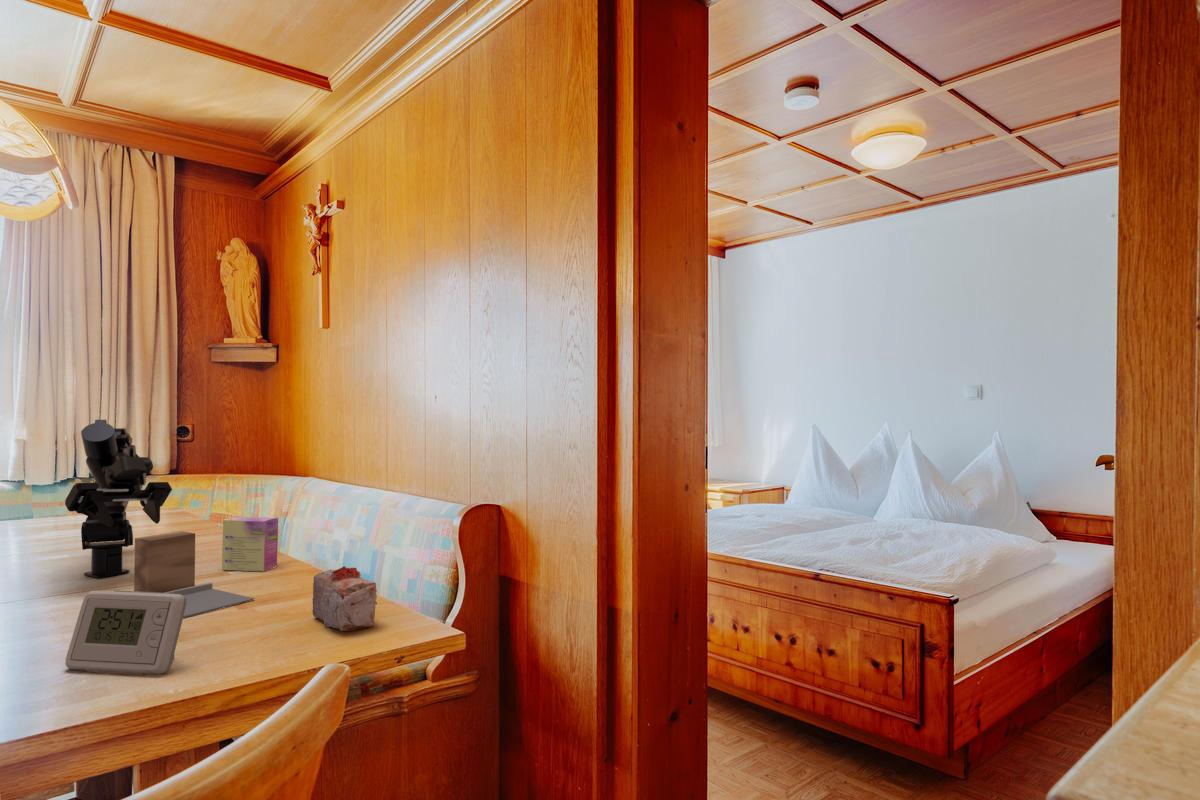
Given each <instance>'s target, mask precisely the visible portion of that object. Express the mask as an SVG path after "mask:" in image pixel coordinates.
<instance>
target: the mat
mask: <svg viewBox="0 0 1200 800" xmlns="http://www.w3.org/2000/svg"><path fill="white" fill-rule="evenodd" d="M164 594H180V595H183V596H185V597H186V599H187V603H186V608H185V612H184V616H183V618H184V619H187V618H190V617H194V616H199V615H203V614H205V613H206V612H207V613H210V612H209V611H211V612H213V611H212V610H215V611H217V610H216V609H219V608H223V607H227V606H230V605H234V606H236V605H235V604H238V603H242V602H246V601H250V600H253V599H255V600H256V598H255V597H250V596H246V595H241V594H237V593H234V592H229V591H225V590H220V589H215V588H213V583H212V582H207V583H202V584H198V585H195V586H192V587H187V588H183V589H178V590H174V591H169V592H165V593H164ZM250 602H251V601H250ZM246 603H247V602H246ZM242 604H243V603H242ZM238 605H239V604H238ZM230 607H231V606H230ZM227 608H228V607H227ZM223 609H224V608H223ZM219 610H220V609H219ZM202 613H203V614H202ZM186 617H187V618H186Z"/></svg>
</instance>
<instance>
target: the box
mask: <svg viewBox="0 0 1200 800" xmlns="http://www.w3.org/2000/svg"><path fill="white" fill-rule="evenodd" d="M278 535H279V517H270V516H269V517H265V516H264V517H261V516H260V517H259V516H237V515H236V516H232V517H228V518H225V519H223V521H222V555H221V556H222V559H221V560H222V561H221V570H222V571H242V572H246V571H247V572H258V571H263V572H264V571H265V572H267V571H266V570H268V569H270V570H272V569H271V568H273V567H275V566H277V567H278V549H279V548H278V544H279V540H278V539H279V538H278V537H279V536H278ZM275 568H276V567H275ZM273 569H274V568H273ZM268 571H269V570H268ZM263 572H262V573H263Z"/></svg>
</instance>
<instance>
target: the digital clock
mask: <svg viewBox="0 0 1200 800" xmlns="http://www.w3.org/2000/svg"><path fill="white" fill-rule="evenodd" d="M186 603H187V599H186V597H185V596H183V595H180V594H164V593H162V592H139V591H134V590H113V591H111V590H108V591H107V590H89V591H88V592H87V593H86V594H85V596H84V598H83V601H82V603H81V606H80V609H79V612H78V613H79V614H78V616H77V619H76V623H75V626H74V629H73V633H72V637H71V640H70V644H69V647H68V650H67V652H66V657H65V666H66V667H65V668H67V669H69V670H70V669H71V670H85V671H86V672H87V673H103V674H105V673H106V674H122V675H124V674H125V675H145V674H154V675H162V674H166V673H167V672H168V671H170V668H171V667H172V664H173V661H174V660H175V652H176V648H177V644H178V641H179V635H180V632H181V629H182V624H183V620H184V619H183V616H184V612H185V608H186Z"/></svg>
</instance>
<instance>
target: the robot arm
mask: <svg viewBox="0 0 1200 800" xmlns="http://www.w3.org/2000/svg"><path fill="white" fill-rule="evenodd" d="M80 434H81V440H82V445H83V449H84V453H85V455H86V457H87V458H86V460H85V463H86V465H87V468H88V469H89V472H90V473H91V475H92V478H93V480H94V482H76V483H74V484H73V486H72V487H71V490H70V491H69V493H68V495H67V497H66V498H65V500H64V501H65V502H64V505H65V506H66V509H67V510H68V511H69V512H75V513H77V514H81V515H84V516H86V519H85V521H83V522H82V524H81V528H80V534H81V536H80V537H81V548H82V550H83V551H85V550H91V557H90V558H91V559H90V560H91V561H90V562H91V563H90V564H91V566H90V567H91V569H90V571H85V572H83V575H84V576H88V577H92V578H96V579H102V578H106V577H111V576H117V575H118V576H119V575H122V574H127V573H130V569H126V568H123V548H126V547H127V548H128V547H129V546H133V545H134V533H133V526H132V525H131V524H130V521H129V519H127V510H126V509H127V507H128V505H129V502H131V501H132V502H135V501H136V502H137V501H139V503H140V505H141V507H143V508H142V511H143V512H144V513H145V514H146V515H147V516H148V517H149V519H150V520H151V521H152V522H153V523H155V524H156V525H157V524H159V523H160V521H161V507H163V505H164V503H165V502H166V501H167V499H168V497H169V495H170V493H172V490H173V487H172V486H171V485H170V483H169V482H168V481H149V482H148V483H147V484H146V482H147V474H148V473H150V472H151V471H152V470H154V464H153V461H152V460H151V458H150V457H148V456H139V455H138V454H137V451H136V444H134V445H133V438H132V436H131V435H130V433H129V432H128V431H127V429H126V428H125V427H123V428H122V427H121V428H117V427H116V428H115V427H113V426H112V425H111V424H109V423H108V422H107V419H94V422H93V423H90V424H88V425H86V426H84V428H82V429H81V431H80ZM143 486H145V488H144V489H143Z"/></svg>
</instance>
